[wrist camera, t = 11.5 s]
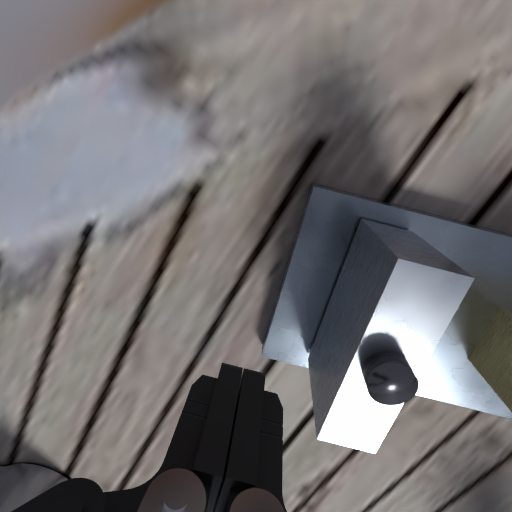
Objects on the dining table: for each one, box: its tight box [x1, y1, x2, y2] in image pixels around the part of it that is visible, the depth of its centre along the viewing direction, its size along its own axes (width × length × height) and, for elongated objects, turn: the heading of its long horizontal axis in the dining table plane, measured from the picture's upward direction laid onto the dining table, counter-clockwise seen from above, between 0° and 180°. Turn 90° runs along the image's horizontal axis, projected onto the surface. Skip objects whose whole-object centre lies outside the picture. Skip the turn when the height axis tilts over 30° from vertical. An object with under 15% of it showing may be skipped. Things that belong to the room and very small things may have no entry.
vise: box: [262, 183, 512, 419], centre depth 17 cm, size 22×12×7 cm, turn 77°
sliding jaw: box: [308, 219, 475, 454], centre depth 16 cm, size 3×10×7 cm, turn 167°
